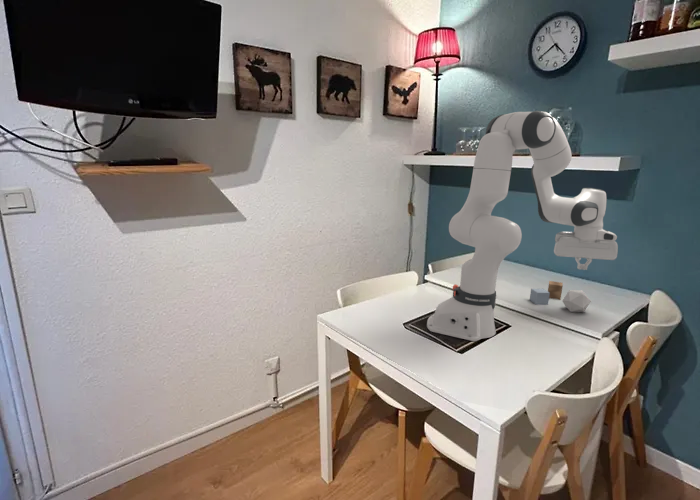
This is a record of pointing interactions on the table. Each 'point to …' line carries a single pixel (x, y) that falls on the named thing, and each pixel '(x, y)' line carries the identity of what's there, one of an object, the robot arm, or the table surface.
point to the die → (576, 301)
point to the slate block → (539, 296)
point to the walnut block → (555, 289)
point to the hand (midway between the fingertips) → (582, 269)
